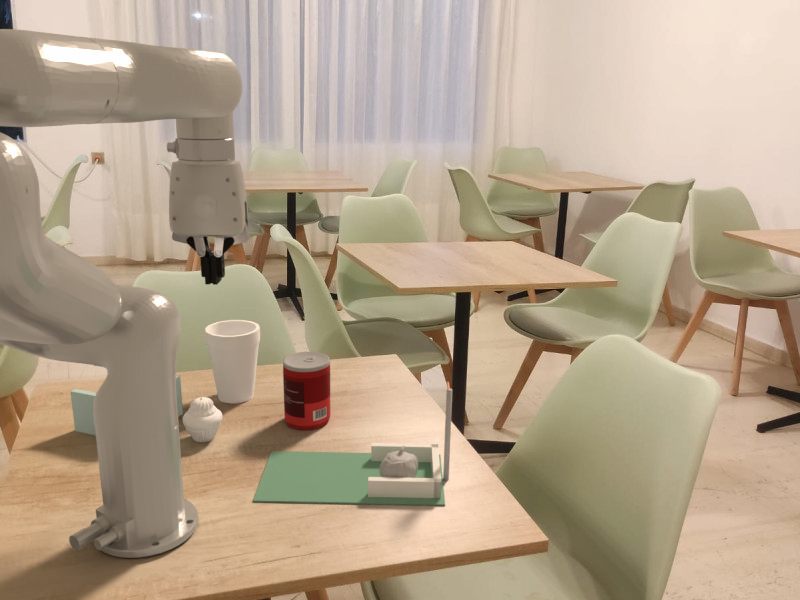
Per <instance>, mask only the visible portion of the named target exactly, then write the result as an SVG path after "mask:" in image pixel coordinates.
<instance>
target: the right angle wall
mask: <svg viewBox="0 0 800 600" xmlns="http://www.w3.org/2000/svg"><path fill="white" fill-rule="evenodd" d="M181 383H182V381H181V375H179V374H176V396H177V410H178V418H179V417H181V416H182V415H184V408H183V394H182V384H181ZM96 393H97V392H93V391H90V390H85V389H84V390H83V389H78V388H74V389H73V390H70V397H71V398H70V399H71V408H72V415H73V416H72V417H73V425H74V432H77V433H83V434H87V435H91V436H95V437H96V433H95V424H94V416H93V403H94V398H95V396H96Z"/></svg>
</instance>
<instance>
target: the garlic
mask: <svg viewBox="0 0 800 600" xmlns="http://www.w3.org/2000/svg"><path fill="white" fill-rule="evenodd" d="M404 449H405V446H404V445H403V446H402V447H401V449H400V451H394V452H391V453H388V454H386V455H385V457H384V459H383V460H382V462H381V464H380V469H379V473H380V476H381V477H399V478H415V475H416V473H417V469H418V459H417V457H416V456H415V455H413V454H410V453H407V452H404Z"/></svg>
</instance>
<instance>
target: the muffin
mask: <svg viewBox="0 0 800 600" xmlns="http://www.w3.org/2000/svg"><path fill="white" fill-rule="evenodd" d="M223 418H224V417H223V413H222V411H221V410H220V409H218V408H217V407H216V406H215V405H214V401H213V400H212V399H211V398H209V397H205V396H204V397H203V396H201V397H200V396H199V397H197V398H195V399H192V401H191V402H190V403H189V407H188V410H187V411H185V412H184V413H183V416H182V424H183V426H184V427H185V430H186V431H187V433H189V436H190V437H191V438H192V439H193V441H194V442H196V443H208V442H210V441H213V440H214V439H215V437H216V435H217V433H218V431H219V429H220V427H221V424H222V421H223Z"/></svg>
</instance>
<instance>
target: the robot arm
mask: <svg viewBox="0 0 800 600" xmlns="http://www.w3.org/2000/svg"><path fill="white" fill-rule="evenodd" d="M238 68H239V67H238V66H237V65H236V63H235V62H234V61H233V60H232V59H231V58H230V57H229V56H228V55H226V54H225V53H223V52H220V51H215V50H214V51H212V50H204V49H196V48H195V49H194V48H183V47H171V46H162V45H151V44H146V43H140V42H139V43H138V42H132V41H123V40H115V39H105V38H96V37H86V36H75V35H68V34H60V33H52V32H44V31H35V30H27V29H26V30H25V29H11V28H1V29H0V127H11V128H13V127H14V128H43V127H58V126H70V125H97V124H128V123H129V124H132V123H144V122H152V121H161V120H175V129H176V138H175V140H174V141H172V142H171V141H170V142H169V141H168V142H167V143H166V150H167V151H166V152H168V153H173V154H175V155H176V159H177V158H178V159H177V161H173V162H172V163H171V167H170V168H171V169H170V176H169V191H168V192H169V193H168V196H169V197H168V216H169V217H168V219H169V221H168V222H169V228H170V231H171V232H172V233H171V235H172V236H171V239H172V240H173V241H174V242H179V243H182V244H187V245H188V246H189V247H190V248H191V249H192V250H194V251H195V252H196V254H197V256H198V257H199V258H200V259H199V260H200V274H201V277H202V278H204V284H205V285H211V284H212V285H215V286H216V285H217V286H218V284H219V283H220V282H221V281H222V279H223V278H224V277H226V268H225V267H226V266H225V263H226V262H225V253H226V252H227V251H229V249H230V248H231V247H232V246H234V245H235V246H236V245H239V244H244V243H247V242H248V241H250V239H251V235H250V231H249V228H248V225H249V207H248V199H247V192H246V184H245V179H244V174H243V170H242V169H243V168H242V166H241V162H240V161H239V160H236V152H235V132H234V131H235V130H234V111H235V110H236V109H237V107H238V105H239V103H240V101H241V98H242V92H243V81H242V76H241V73H240V70H239V69H238ZM39 182H40V181H39V177H38V173H37V170H36V167H35V165H34V163H33V161H32V159H31V158H30V156H29V154H28V152H27V151H26V150H25V149H24V148H23V147H22V146H21V145H20V144H19V143H18V142H17V141H16V140H15V139H13V138H12V137H10V136H9V135H7V134H5V133H3V132H1V131H0V345H2V346H6V347H8V348H11V349H15V350H17V351H21V352H24V353H26V354H30V355H33V356H37V357H40V358H43V359H47V360H52V361H59V362H66V363H75V364H83V365H89V366H90V365H92V366H94V367H101V368H105V369H106V370H107V371H106V372H107V374H106V377H105V380H103V382H102V384H101V385H100V387H99V388H98V390H97V392H95V393H96V396H95V398H94V403H93V416H94V424H95V433H96V436H95V441H96V451H97V459H98V471H99V479H100V487H101V496H102V497H101V498H102V505H100V506H99V507H97V508H96V509H95V516H96V518H95V519H93V520H92V521H91V522H90V525H88V526H87V527H85V528H82V529H80V530H79V531H77V532H75V533H73V534H72V535H69V538H68V541H69V544H70V546H71V548H72V549H73V550H74V551H79V550H82V549H83V548H85V547H87V546H88V545H91V543H92V542H93V546H94V548H95V549H96V550H97V551H101V552H102V553H105V554H108V555H110V556H114V557H118V558H123V559H124V558H125V559H126V558H127V559H133V558H135V559H136V558H137V559H139V558H145V557H151V556H156V555H159V554H162V553H165V552H168V551H170V550H172V549H174V548H177V547H179V546H180V545H182V544H183V543H184V542H186V541H187V540H188V539H189V538H190V537H191V536H192V535H193V534H194V532H195V531H196V529H197V527H198V525H199V515H198V513H199V512H198V509H197V508H196V506H195V505H194V504H193V503H192V502H191V501H189V500H187V499H186V498H185V495H184V494H185V492H184V491H185V490H184V481H183V467H182V465H183V464H182V454H181V453H182V452H181V440H180V439H181V438H180V426H179V425H180V423H179V417H178V410H177V396H176V375H177V362H178V361H177V360H178V351H179V343H180V342H179V341H180V337H181V336H180V335H181V318H180V317H181V316H180V313H179V310H178V308H177V306H176V304H175V302H173V301H172V300H171V299H170V298H169V297H168V296H167V295H165V294H163V293H160V292H159V291H156V290H154V289H149V288H145V287H139V286H130V285H129V286H127V285H120V284H119V285H117V284H116V283H115V281H114V280H113V278H112V277H111V276H110V275H109V274H108V273H107V272H105V270H103V269H102V268H100V266H98V265H96V264H94V263H93V262H92V261H89V260H87V259H86V258H83V257H82V256H80V255H78V254H76V253H75V252H73V251H71V250H69V249H68V248H66V247H64V246H63V245H60V244H58V243H57V242H55V241H53V240H52V239H51V238H49V237H48V236H47V235H46V234H44V230H43V224H42V214H41V197H40V195H41V194H40V183H39ZM210 237H211V238H214V246H213V250H212V248H211V246H210V241H209V238H210Z"/></svg>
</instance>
